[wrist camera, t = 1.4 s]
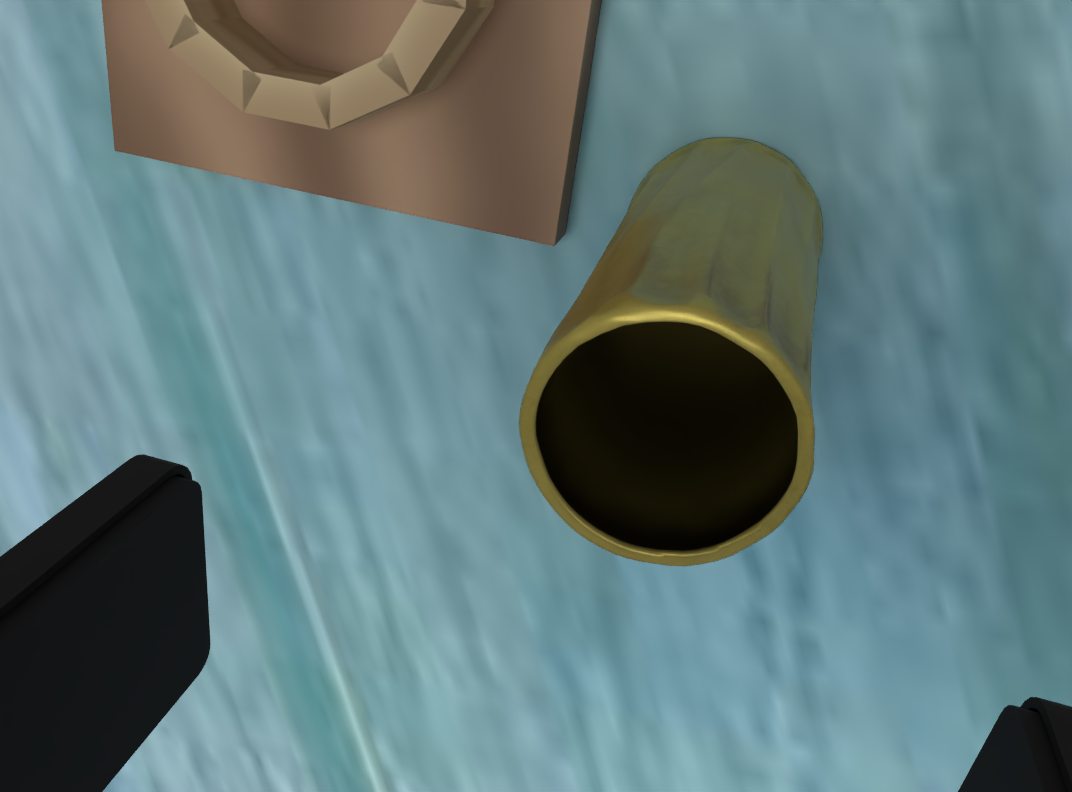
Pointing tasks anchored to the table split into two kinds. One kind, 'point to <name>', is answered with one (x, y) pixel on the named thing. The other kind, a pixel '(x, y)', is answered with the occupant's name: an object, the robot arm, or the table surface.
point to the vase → (686, 364)
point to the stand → (365, 99)
